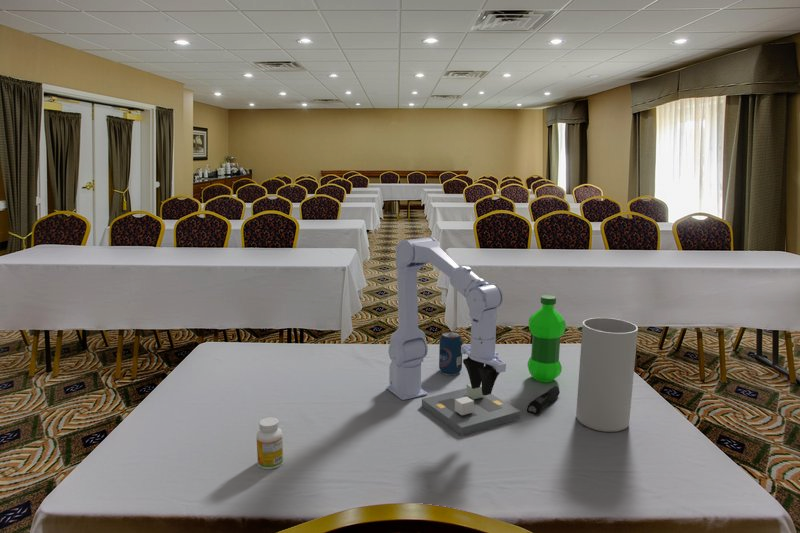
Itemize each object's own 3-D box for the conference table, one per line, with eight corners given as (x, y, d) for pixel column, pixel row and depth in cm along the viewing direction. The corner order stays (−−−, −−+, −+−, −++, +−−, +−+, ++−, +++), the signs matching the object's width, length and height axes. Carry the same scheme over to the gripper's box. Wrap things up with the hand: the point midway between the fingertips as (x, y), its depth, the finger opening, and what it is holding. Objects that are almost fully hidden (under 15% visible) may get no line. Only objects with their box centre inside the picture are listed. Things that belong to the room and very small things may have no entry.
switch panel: (421, 405, 150) (421, 398, 149) (476, 392, 158) (477, 385, 158) (461, 435, 134) (461, 427, 134) (520, 418, 143) (520, 410, 143)
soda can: (434, 371, 173) (434, 333, 171) (449, 365, 178) (450, 328, 175) (451, 377, 168) (451, 339, 166) (466, 371, 173) (467, 334, 170)
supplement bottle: (260, 457, 125) (257, 416, 123) (284, 456, 125) (283, 415, 123) (256, 470, 119) (253, 428, 117) (282, 469, 120) (280, 427, 118)
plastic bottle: (567, 378, 168) (573, 296, 163) (550, 389, 161) (556, 303, 155) (537, 369, 175) (541, 290, 170) (519, 379, 167) (523, 297, 162)
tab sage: (466, 395, 151) (467, 384, 150) (477, 392, 152) (478, 381, 152) (473, 399, 148) (473, 388, 148) (484, 396, 150) (484, 385, 149)
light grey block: (454, 410, 142) (455, 399, 141) (466, 407, 143) (466, 396, 143) (461, 415, 139) (462, 404, 139) (473, 412, 141) (474, 400, 140)
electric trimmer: (563, 397, 156) (563, 386, 155) (538, 417, 144) (538, 405, 144) (550, 394, 158) (550, 383, 158) (524, 412, 146) (525, 401, 146)
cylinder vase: (590, 435, 135) (598, 334, 130) (567, 411, 147) (573, 318, 142) (639, 431, 137) (648, 332, 132) (612, 408, 149) (620, 316, 144)
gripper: (517, 342, 127) (514, 398, 130) (478, 325, 140) (476, 377, 142) (492, 347, 124) (490, 405, 127) (454, 329, 136) (453, 382, 139)
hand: (481, 390), depth 134 cm, fingers open, 4 cm apart
